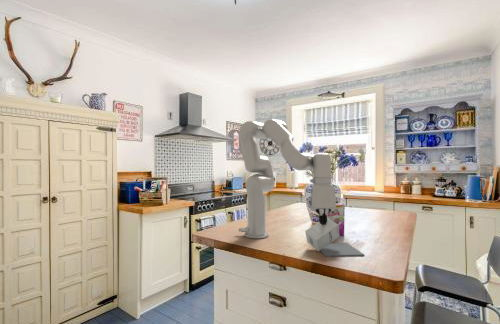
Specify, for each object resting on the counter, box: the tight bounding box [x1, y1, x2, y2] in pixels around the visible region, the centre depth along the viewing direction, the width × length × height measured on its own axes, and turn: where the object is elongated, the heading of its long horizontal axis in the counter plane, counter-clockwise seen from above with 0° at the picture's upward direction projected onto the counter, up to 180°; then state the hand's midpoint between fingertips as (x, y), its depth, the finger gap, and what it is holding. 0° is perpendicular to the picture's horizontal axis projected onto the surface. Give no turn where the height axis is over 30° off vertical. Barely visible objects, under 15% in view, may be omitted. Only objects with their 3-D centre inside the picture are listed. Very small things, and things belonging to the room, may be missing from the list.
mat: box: [319, 242, 365, 258], centre depth 112 cm, size 16×16×1 cm
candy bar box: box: [322, 203, 346, 237], centre depth 138 cm, size 11×5×16 cm, turn 84°
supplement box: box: [305, 218, 340, 252], centre depth 113 cm, size 7×7×13 cm
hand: (323, 224), depth 112 cm, fingers closed
